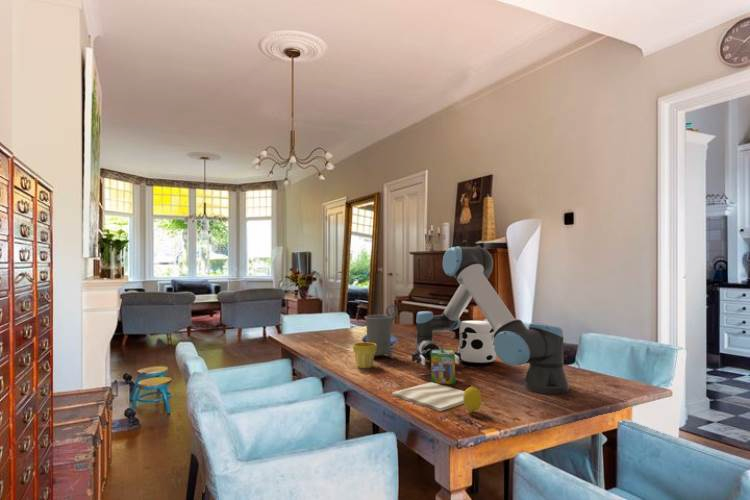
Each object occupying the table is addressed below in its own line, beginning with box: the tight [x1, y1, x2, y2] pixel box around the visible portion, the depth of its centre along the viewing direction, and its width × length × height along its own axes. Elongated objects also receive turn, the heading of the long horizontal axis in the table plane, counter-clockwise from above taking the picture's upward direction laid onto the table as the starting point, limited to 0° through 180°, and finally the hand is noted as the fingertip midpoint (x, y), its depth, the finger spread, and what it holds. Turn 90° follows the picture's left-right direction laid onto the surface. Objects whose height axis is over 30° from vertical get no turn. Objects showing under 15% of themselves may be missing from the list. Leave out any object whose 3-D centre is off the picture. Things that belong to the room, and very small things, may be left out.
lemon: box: [463, 385, 483, 413], centre depth 141 cm, size 6×6×8 cm
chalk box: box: [430, 342, 457, 385], centre depth 176 cm, size 9×9×15 cm
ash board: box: [391, 381, 465, 412], centre depth 157 cm, size 22×20×1 cm
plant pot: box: [352, 341, 377, 369], centre depth 201 cm, size 10×10×10 cm
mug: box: [364, 304, 398, 360], centre depth 221 cm, size 19×15×25 cm
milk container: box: [457, 320, 497, 365], centre depth 208 cm, size 17×17×18 cm
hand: (441, 361), depth 178 cm, fingers open, 13 cm apart
